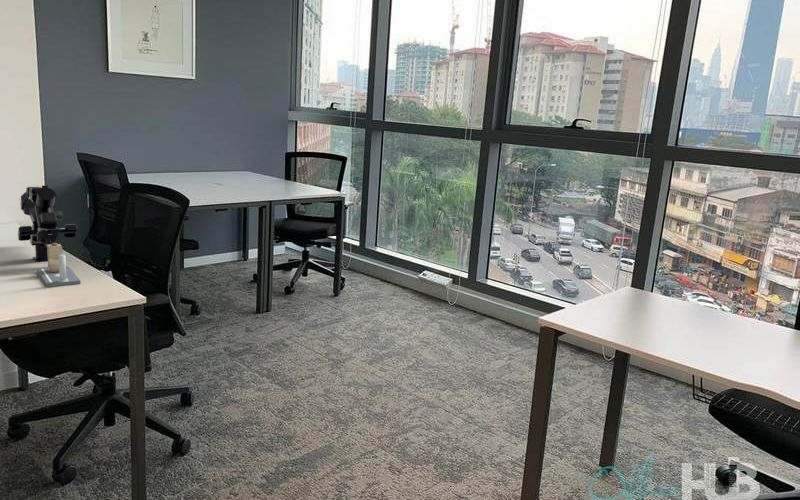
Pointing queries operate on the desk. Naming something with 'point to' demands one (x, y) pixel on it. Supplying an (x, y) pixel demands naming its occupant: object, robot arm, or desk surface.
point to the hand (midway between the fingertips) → (52, 251)
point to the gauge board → (54, 279)
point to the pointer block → (54, 256)
